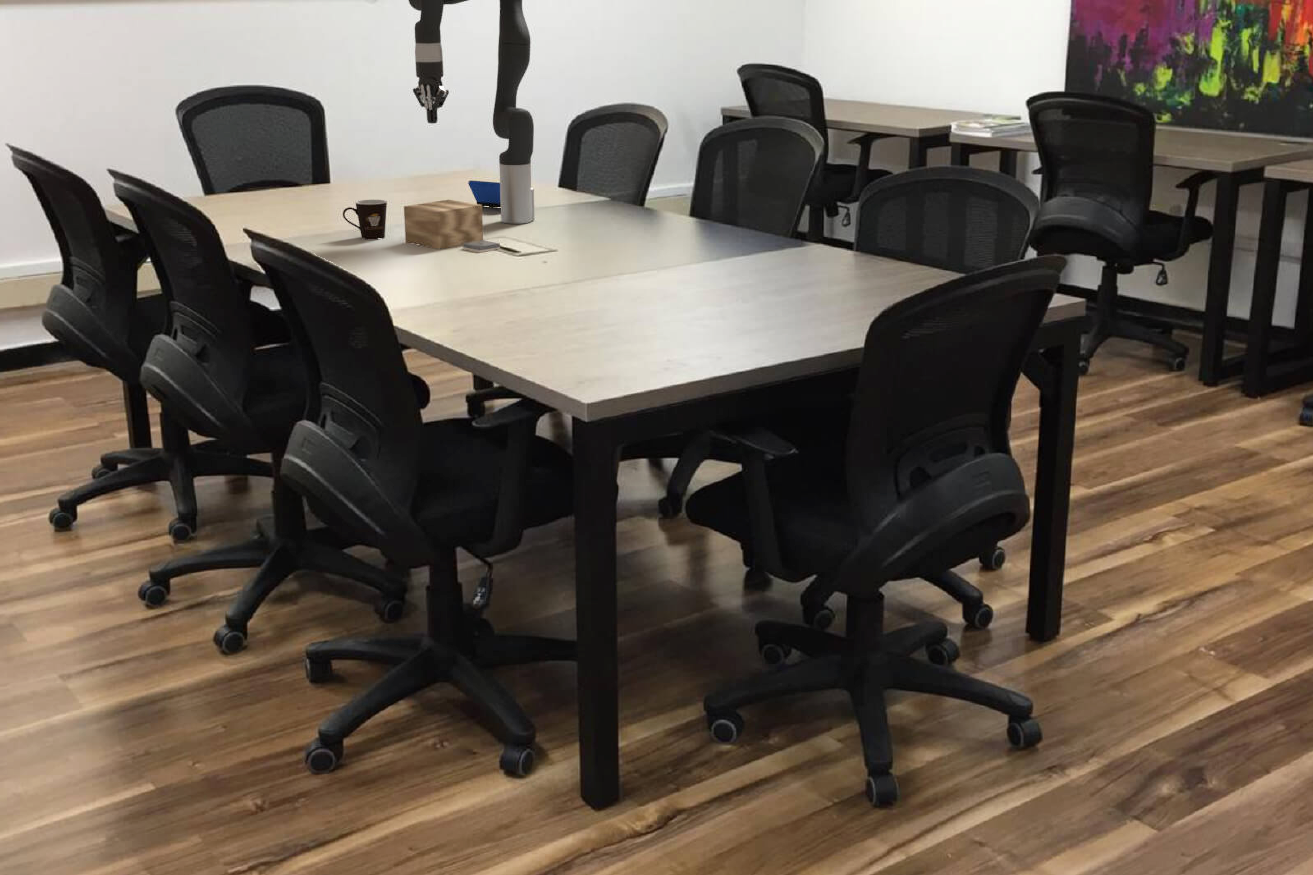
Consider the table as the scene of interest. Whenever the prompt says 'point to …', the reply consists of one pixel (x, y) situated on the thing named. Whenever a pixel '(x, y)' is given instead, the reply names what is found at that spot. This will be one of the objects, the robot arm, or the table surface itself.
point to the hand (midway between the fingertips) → (432, 122)
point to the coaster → (481, 246)
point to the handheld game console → (486, 193)
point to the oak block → (443, 223)
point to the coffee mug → (370, 218)
